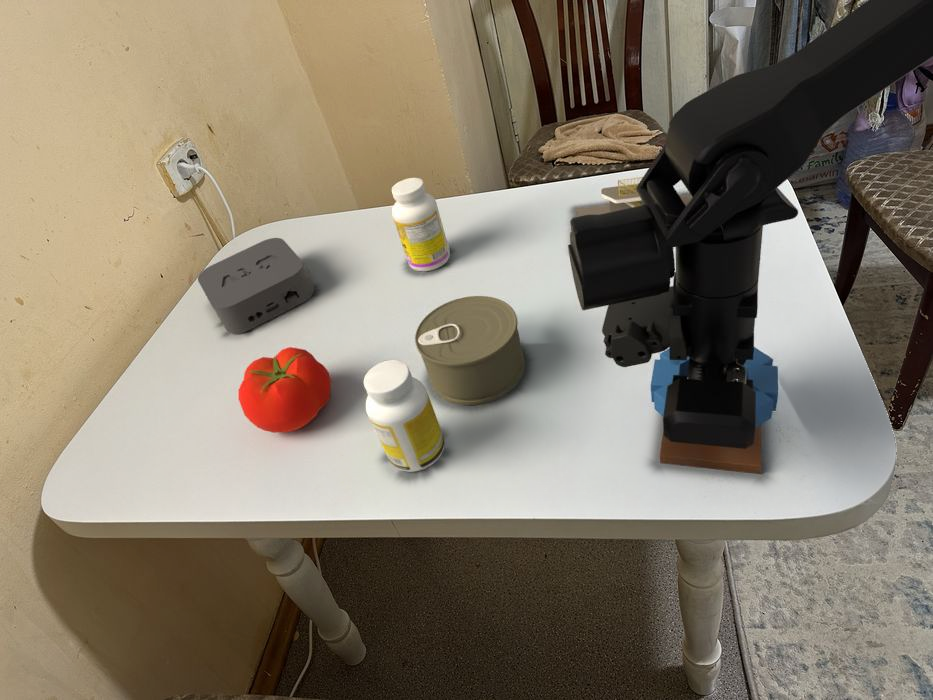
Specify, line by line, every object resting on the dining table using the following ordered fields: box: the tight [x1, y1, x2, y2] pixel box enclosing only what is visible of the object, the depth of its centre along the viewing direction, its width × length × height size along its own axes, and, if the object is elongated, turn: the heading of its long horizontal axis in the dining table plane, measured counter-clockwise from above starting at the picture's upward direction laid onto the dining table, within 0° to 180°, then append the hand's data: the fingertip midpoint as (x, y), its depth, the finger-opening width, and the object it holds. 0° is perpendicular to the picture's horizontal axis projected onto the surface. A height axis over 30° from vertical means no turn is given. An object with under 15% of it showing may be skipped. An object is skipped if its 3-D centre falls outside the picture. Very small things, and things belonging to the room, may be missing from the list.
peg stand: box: [659, 424, 763, 475], centre depth 63 cm, size 9×9×8 cm
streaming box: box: [197, 237, 315, 334], centre depth 102 cm, size 14×14×5 cm
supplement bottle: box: [391, 177, 451, 272], centre depth 97 cm, size 7×7×13 cm
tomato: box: [238, 346, 332, 434], centre depth 79 cm, size 11×11×8 cm
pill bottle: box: [363, 359, 446, 473], centre depth 69 cm, size 6×6×12 cm
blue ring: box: [650, 346, 779, 428], centre depth 61 cm, size 11×11×2 cm
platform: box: [576, 176, 693, 217], centre depth 95 cm, size 12×18×7 cm, turn 83°
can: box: [414, 295, 526, 406], centre depth 78 cm, size 12×12×7 cm
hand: (711, 417), depth 58 cm, fingers closed on blue ring, 2 cm apart
